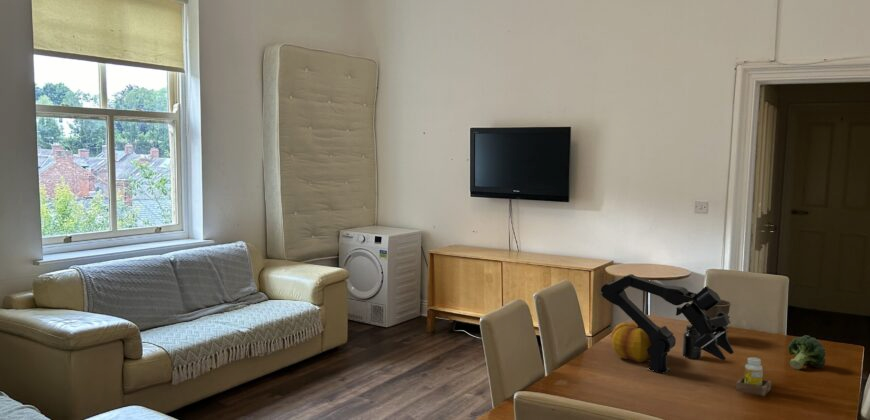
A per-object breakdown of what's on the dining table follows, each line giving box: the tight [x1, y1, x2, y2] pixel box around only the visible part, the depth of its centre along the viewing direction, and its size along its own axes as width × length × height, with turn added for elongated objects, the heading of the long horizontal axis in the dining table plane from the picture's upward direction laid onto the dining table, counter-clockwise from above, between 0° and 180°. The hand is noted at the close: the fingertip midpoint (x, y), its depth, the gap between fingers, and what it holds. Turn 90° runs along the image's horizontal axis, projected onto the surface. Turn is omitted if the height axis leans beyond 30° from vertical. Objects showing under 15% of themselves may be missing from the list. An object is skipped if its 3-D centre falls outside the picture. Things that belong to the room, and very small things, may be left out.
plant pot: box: [689, 299, 732, 332], centre depth 282 cm, size 16×16×16 cm
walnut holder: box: [735, 375, 772, 397], centre depth 220 cm, size 9×9×3 cm
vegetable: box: [787, 334, 826, 370], centre depth 245 cm, size 12×13×15 cm
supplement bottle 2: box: [744, 356, 764, 387], centre depth 219 cm, size 5×5×10 cm
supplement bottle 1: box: [682, 324, 703, 360], centre depth 256 cm, size 7×7×12 cm
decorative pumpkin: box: [611, 322, 653, 363], centre depth 254 cm, size 20×22×15 cm
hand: (728, 356), depth 224 cm, fingers open, 9 cm apart
